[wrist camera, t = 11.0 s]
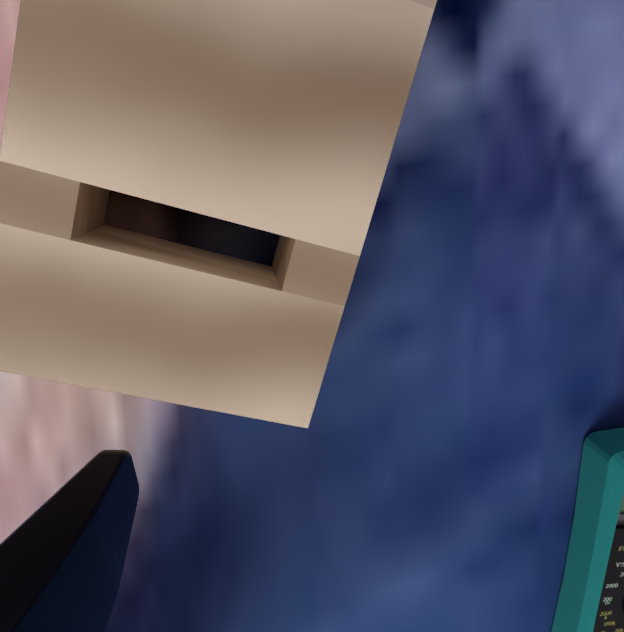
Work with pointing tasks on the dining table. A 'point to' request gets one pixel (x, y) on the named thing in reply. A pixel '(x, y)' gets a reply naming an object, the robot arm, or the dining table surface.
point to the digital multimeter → (596, 541)
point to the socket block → (195, 189)
